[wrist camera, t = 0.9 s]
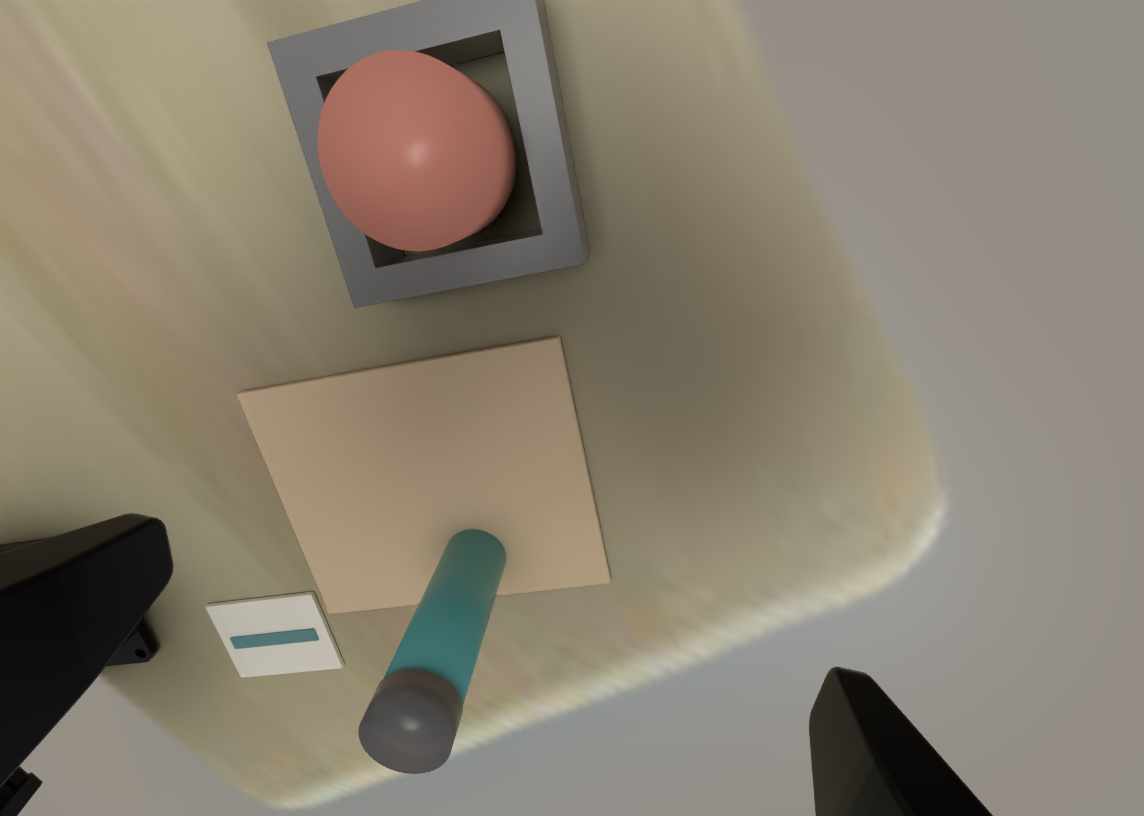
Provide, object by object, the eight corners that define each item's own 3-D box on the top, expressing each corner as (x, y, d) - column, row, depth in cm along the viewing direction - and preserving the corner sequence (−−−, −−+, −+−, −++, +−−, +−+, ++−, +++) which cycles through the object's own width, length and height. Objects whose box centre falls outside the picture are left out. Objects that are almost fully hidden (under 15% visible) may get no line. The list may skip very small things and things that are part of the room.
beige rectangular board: (332, 609, 25) (329, 614, 25) (241, 391, 22) (236, 394, 22) (611, 578, 24) (610, 583, 23) (560, 335, 20) (559, 338, 20)
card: (243, 674, 27) (240, 679, 27) (208, 603, 26) (203, 608, 26) (344, 664, 27) (341, 669, 26) (313, 591, 25) (310, 596, 25)
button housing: (385, 292, 20) (354, 308, 18) (313, 59, 18) (267, 42, 15) (590, 252, 19) (584, 263, 17) (543, -1, 17) (530, -29, 14)
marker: (454, 584, 24) (375, 776, 16) (437, 532, 23) (346, 708, 16) (514, 577, 24) (462, 770, 16) (499, 524, 23) (436, 701, 15)
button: (388, 253, 18) (352, 266, 15) (338, 88, 16) (290, 75, 14) (532, 224, 17) (517, 232, 15) (495, 49, 15) (472, 28, 13)
